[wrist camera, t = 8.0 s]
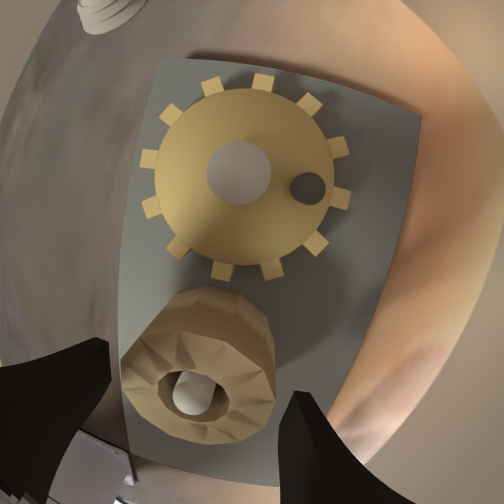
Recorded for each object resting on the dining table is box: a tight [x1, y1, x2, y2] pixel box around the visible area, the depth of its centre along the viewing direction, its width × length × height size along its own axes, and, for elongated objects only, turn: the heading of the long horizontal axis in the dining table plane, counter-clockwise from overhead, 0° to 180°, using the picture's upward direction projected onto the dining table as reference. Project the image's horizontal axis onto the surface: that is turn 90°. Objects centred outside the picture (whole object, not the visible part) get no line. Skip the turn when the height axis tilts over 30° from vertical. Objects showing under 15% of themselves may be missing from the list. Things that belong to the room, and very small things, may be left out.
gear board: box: [118, 58, 421, 487], centre depth 11 cm, size 12×26×6 cm, turn 168°
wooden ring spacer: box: [120, 285, 276, 445], centre depth 10 cm, size 6×6×4 cm
